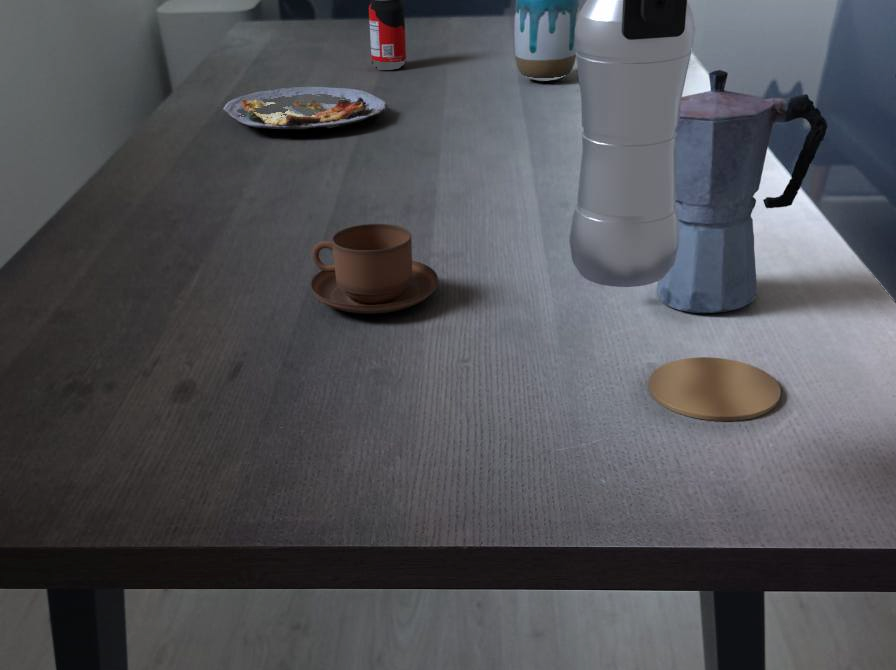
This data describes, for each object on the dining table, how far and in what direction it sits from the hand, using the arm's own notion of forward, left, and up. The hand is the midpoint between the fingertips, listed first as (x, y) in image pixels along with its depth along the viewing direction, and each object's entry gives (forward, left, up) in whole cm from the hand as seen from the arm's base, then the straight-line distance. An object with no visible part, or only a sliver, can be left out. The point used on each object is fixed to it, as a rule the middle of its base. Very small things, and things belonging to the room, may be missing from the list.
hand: (636, 22), depth 57 cm
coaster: (-11, -10, -29) cm, 32 cm away
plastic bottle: (0, 0, -15) cm, 15 cm away
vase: (-16, -123, -29) cm, 127 cm away
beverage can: (+10, -140, -29) cm, 143 cm away
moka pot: (-16, -28, -29) cm, 43 cm away
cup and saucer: (+15, -32, -29) cm, 46 cm away
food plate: (+24, -104, -29) cm, 110 cm away
